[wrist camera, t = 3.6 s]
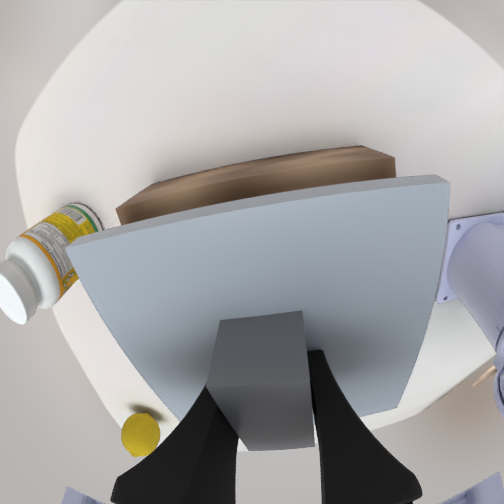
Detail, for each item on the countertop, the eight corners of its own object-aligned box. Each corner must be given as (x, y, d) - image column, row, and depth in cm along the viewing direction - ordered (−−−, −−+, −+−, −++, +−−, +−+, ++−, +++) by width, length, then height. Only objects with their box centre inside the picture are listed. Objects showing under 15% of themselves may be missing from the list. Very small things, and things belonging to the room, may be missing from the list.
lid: (415, 165, 9) (509, 219, 4) (388, 378, 15) (406, 446, 11) (95, 223, 11) (18, 292, 6) (192, 399, 17) (177, 463, 13)
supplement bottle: (89, 192, 18) (-1, 250, 9) (116, 252, 20) (48, 332, 11) (50, 213, 19) (-25, 269, 10) (76, 265, 21) (13, 334, 12)
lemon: (128, 398, 31) (111, 443, 24) (164, 410, 32) (151, 457, 25) (133, 414, 34) (119, 454, 27) (166, 424, 34) (154, 467, 27)
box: (361, 145, 15) (394, 157, 11) (365, 316, 21) (381, 360, 17) (151, 184, 17) (115, 209, 13) (207, 337, 23) (196, 381, 19)
